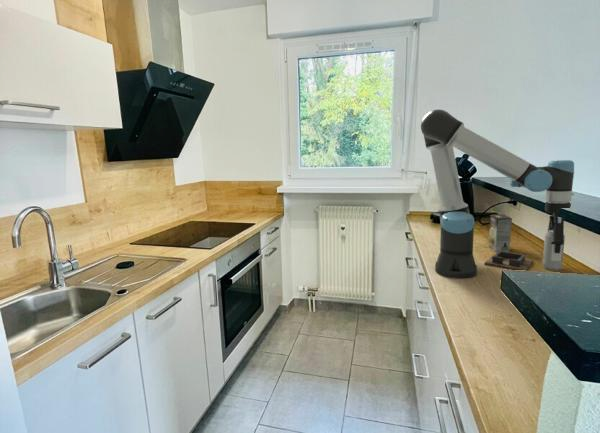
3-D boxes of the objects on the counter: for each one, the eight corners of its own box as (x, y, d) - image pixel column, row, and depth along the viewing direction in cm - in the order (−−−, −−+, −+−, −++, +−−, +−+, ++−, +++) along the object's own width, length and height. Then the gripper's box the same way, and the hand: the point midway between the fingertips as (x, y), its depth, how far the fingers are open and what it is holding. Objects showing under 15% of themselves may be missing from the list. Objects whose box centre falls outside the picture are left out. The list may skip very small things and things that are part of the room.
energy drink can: (548, 264, 127) (551, 228, 124) (565, 269, 122) (569, 231, 119) (538, 267, 125) (541, 230, 122) (555, 272, 120) (558, 234, 117)
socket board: (524, 272, 121) (525, 263, 121) (484, 264, 131) (484, 256, 131) (532, 262, 131) (533, 254, 130) (494, 256, 141) (495, 248, 140)
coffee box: (487, 246, 155) (489, 214, 152) (502, 246, 154) (504, 214, 151) (495, 251, 146) (497, 218, 143) (510, 251, 145) (512, 218, 142)
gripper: (577, 207, 106) (572, 267, 110) (565, 197, 127) (560, 247, 131) (549, 206, 110) (545, 264, 114) (542, 197, 131) (538, 245, 135)
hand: (553, 255), depth 122 cm, fingers open, 13 cm apart
